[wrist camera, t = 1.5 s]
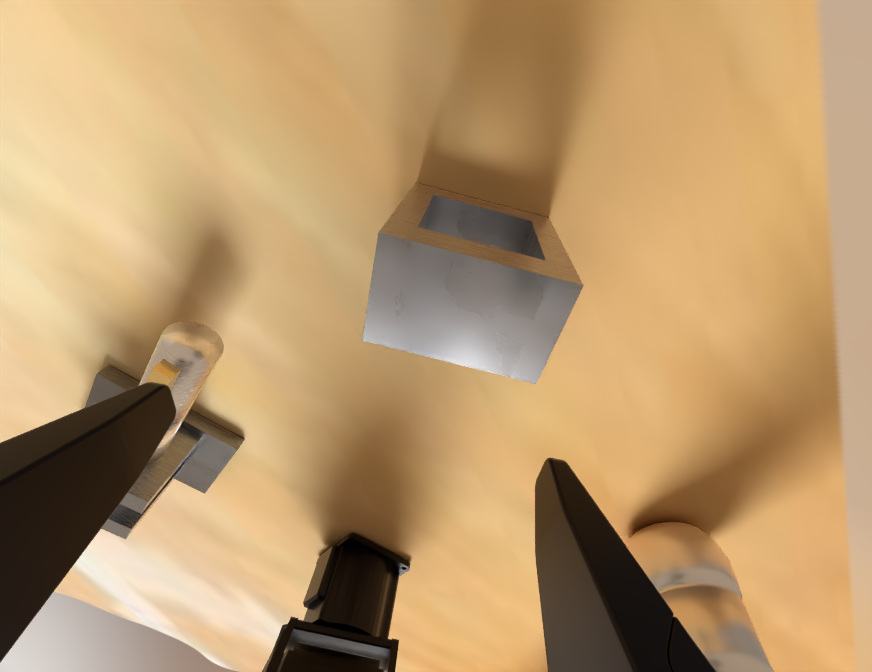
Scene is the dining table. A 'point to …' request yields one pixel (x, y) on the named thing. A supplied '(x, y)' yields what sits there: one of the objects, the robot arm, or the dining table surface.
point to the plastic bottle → (701, 593)
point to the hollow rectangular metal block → (470, 284)
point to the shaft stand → (188, 434)
